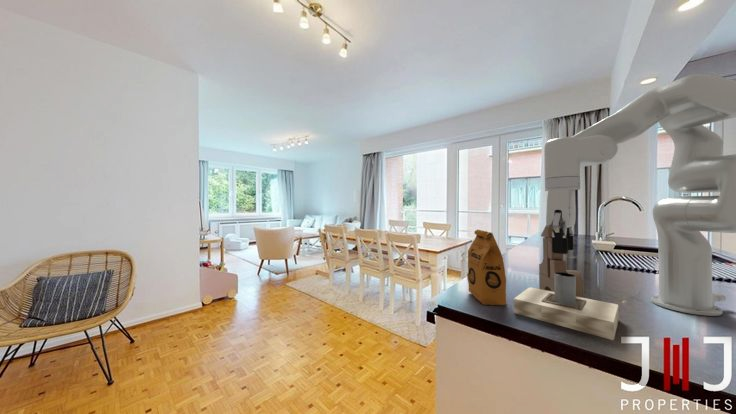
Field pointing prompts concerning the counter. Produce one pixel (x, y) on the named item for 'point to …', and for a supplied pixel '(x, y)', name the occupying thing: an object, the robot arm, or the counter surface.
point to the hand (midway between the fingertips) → (563, 250)
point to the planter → (565, 288)
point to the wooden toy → (554, 265)
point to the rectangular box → (569, 312)
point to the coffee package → (486, 270)
